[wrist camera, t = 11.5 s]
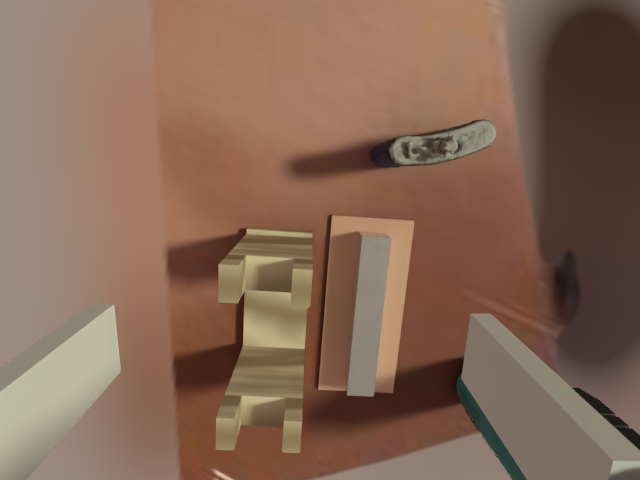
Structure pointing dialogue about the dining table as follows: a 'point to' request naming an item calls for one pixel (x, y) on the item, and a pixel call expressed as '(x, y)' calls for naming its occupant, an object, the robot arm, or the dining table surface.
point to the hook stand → (267, 333)
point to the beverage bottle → (488, 431)
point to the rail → (366, 312)
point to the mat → (341, 298)
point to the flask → (435, 145)
